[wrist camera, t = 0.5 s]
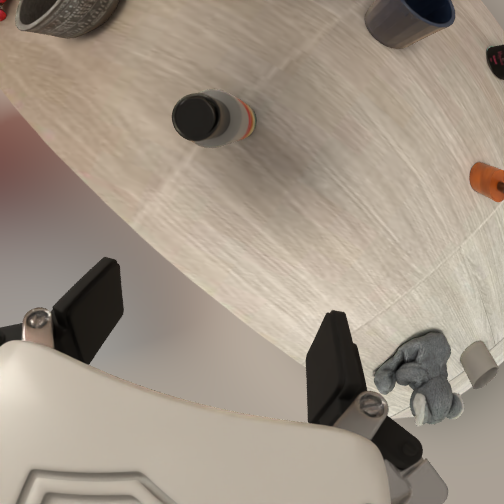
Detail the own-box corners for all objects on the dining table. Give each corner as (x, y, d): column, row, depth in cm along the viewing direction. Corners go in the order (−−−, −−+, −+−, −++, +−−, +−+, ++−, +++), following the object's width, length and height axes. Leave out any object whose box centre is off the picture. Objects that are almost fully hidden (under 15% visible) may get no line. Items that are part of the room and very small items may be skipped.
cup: (455, 360, 52) (468, 387, 43) (475, 337, 49) (491, 364, 40) (468, 364, 53) (481, 390, 44) (487, 344, 49) (502, 369, 40)
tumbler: (367, -2, 24) (394, -38, 12) (414, 18, 24) (454, -7, 12) (361, 36, 27) (392, 6, 16) (410, 57, 27) (455, 39, 16)
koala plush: (367, 376, 56) (381, 446, 38) (410, 320, 48) (443, 395, 30) (417, 381, 56) (436, 441, 39) (459, 332, 48) (492, 393, 31)
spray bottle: (265, 118, 35) (249, 110, 17) (239, 147, 37) (199, 169, 19) (234, 94, 34) (189, 66, 16) (209, 124, 36) (144, 126, 18)
